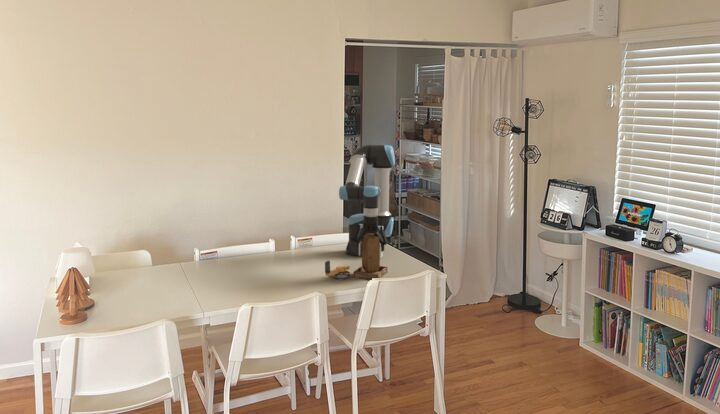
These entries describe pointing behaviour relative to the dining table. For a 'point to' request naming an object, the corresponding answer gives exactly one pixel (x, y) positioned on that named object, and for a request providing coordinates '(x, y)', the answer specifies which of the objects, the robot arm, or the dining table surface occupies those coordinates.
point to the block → (370, 253)
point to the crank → (335, 271)
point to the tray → (364, 274)
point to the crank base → (341, 275)
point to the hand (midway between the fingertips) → (370, 255)
